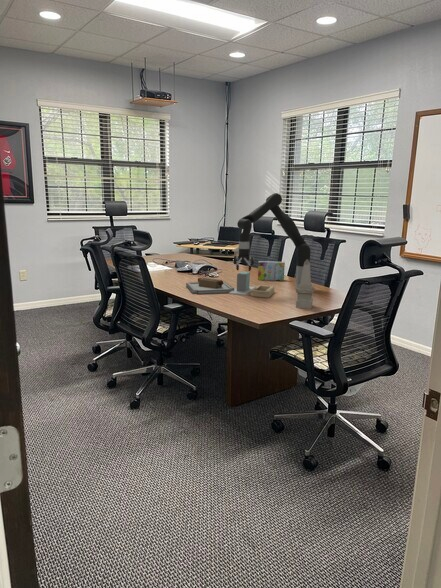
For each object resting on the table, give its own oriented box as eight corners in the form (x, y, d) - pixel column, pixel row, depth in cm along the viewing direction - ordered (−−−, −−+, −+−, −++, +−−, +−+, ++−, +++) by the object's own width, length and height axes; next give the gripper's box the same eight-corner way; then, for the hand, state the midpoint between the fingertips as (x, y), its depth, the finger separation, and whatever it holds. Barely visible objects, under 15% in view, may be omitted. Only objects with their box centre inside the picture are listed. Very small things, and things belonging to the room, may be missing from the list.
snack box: (283, 279, 358) (284, 261, 355) (283, 281, 352) (284, 262, 349) (257, 278, 360) (258, 260, 357) (257, 280, 354) (258, 261, 351)
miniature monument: (312, 308, 268) (315, 260, 261) (294, 307, 270) (297, 259, 263) (313, 304, 277) (316, 258, 271) (296, 303, 280) (299, 257, 273)
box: (249, 288, 317) (249, 272, 315) (244, 291, 306) (245, 274, 304) (241, 287, 319) (241, 271, 317) (236, 290, 308) (237, 274, 305)
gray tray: (193, 295, 299) (193, 284, 298) (185, 286, 327) (185, 276, 326) (235, 293, 307) (235, 283, 305) (223, 285, 335) (224, 275, 333)
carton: (274, 292, 312) (275, 285, 311) (268, 298, 293) (268, 291, 292) (258, 290, 316) (258, 284, 315) (250, 296, 297) (250, 290, 296)
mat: (255, 288, 323) (255, 286, 323) (245, 295, 299) (245, 294, 299) (239, 286, 327) (240, 285, 327) (229, 293, 303) (229, 292, 303)
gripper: (255, 247, 307) (254, 270, 311) (235, 246, 311) (235, 269, 315) (252, 248, 300) (251, 272, 304) (232, 248, 305) (232, 270, 308)
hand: (243, 270), depth 309 cm, fingers open, 8 cm apart
